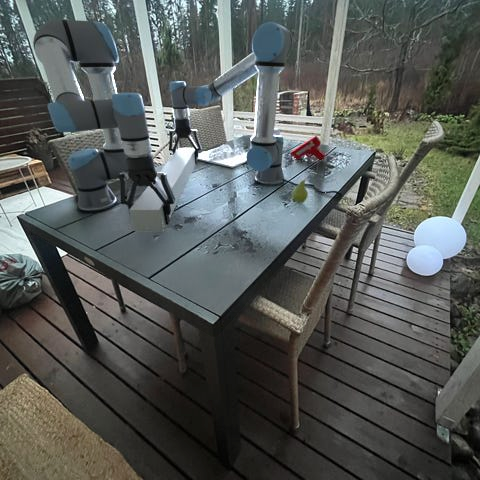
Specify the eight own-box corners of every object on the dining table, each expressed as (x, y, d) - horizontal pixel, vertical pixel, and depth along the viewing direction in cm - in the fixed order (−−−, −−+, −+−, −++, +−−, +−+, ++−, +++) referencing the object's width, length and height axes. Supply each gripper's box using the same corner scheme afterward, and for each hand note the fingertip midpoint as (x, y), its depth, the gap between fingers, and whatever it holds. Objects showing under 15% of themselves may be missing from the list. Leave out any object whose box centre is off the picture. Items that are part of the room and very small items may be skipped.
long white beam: (180, 162, 149) (178, 147, 145) (197, 162, 149) (195, 147, 144) (134, 231, 86) (129, 210, 82) (163, 231, 86) (159, 209, 82)
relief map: (232, 167, 162) (232, 159, 160) (191, 158, 180) (190, 150, 177) (257, 157, 181) (258, 149, 178) (218, 149, 198) (217, 142, 196)
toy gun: (328, 155, 171) (316, 134, 167) (328, 157, 168) (316, 136, 164) (303, 170, 181) (291, 151, 177) (303, 172, 178) (290, 152, 174)
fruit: (288, 200, 123) (290, 174, 116) (302, 197, 125) (305, 172, 119) (296, 206, 118) (299, 179, 111) (310, 203, 120) (314, 177, 114)
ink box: (274, 143, 212) (275, 127, 205) (279, 145, 208) (280, 128, 202) (267, 145, 206) (268, 129, 200) (272, 147, 203) (273, 130, 197)
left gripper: (94, 158, 74) (115, 228, 87) (174, 158, 74) (183, 228, 87) (106, 150, 81) (123, 217, 93) (179, 150, 81) (187, 217, 93)
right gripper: (157, 119, 129) (165, 166, 141) (203, 118, 129) (207, 165, 141) (161, 117, 136) (168, 161, 148) (204, 116, 135) (208, 161, 147)
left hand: (152, 222), depth 90 cm, fingers closed on long white beam, 9 cm apart
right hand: (187, 163), depth 144 cm, fingers closed on long white beam, 9 cm apart
